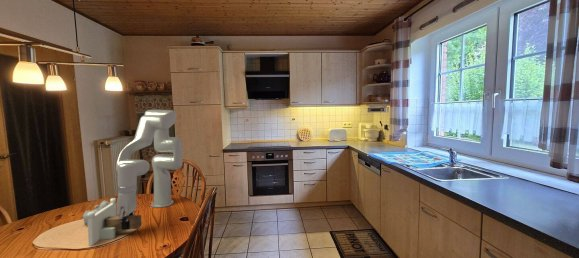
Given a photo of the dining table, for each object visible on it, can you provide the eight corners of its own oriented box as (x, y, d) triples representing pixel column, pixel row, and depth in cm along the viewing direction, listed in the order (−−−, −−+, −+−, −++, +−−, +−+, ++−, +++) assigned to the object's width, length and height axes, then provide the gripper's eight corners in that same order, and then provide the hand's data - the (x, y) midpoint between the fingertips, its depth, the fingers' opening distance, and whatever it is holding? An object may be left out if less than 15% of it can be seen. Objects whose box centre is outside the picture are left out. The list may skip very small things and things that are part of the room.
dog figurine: (114, 219, 134) (114, 199, 134) (85, 228, 124) (85, 206, 123) (110, 217, 137) (110, 197, 137) (81, 225, 126) (80, 204, 126)
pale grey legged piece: (112, 225, 127) (111, 198, 126) (128, 224, 128) (127, 197, 128) (87, 246, 107) (86, 213, 106) (106, 244, 108) (105, 213, 108)
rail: (104, 230, 115) (103, 219, 115) (108, 226, 119) (108, 216, 119) (137, 228, 118) (137, 218, 117) (141, 225, 122) (141, 215, 121)
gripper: (127, 184, 125) (127, 220, 126) (109, 194, 109) (109, 236, 110) (143, 184, 127) (143, 219, 128) (128, 194, 110) (128, 234, 111)
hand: (128, 226), depth 119 cm, fingers closed on rail, 4 cm apart
